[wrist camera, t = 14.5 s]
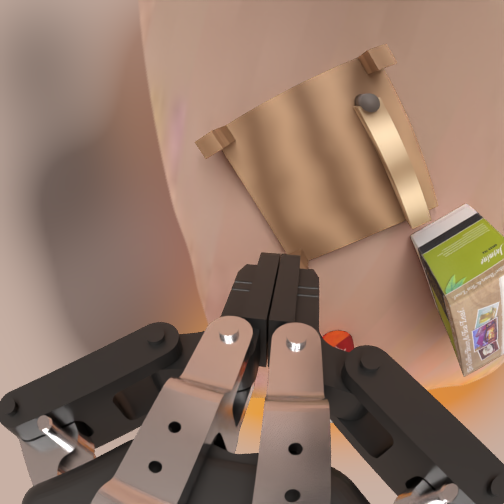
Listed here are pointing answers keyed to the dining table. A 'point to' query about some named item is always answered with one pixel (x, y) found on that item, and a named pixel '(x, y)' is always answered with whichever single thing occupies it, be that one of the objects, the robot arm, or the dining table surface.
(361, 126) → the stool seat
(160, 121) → the dining table surface
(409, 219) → the tan curved wooden piece
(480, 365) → the tea box
